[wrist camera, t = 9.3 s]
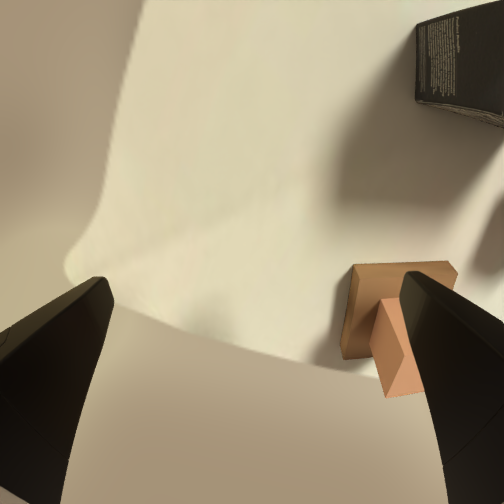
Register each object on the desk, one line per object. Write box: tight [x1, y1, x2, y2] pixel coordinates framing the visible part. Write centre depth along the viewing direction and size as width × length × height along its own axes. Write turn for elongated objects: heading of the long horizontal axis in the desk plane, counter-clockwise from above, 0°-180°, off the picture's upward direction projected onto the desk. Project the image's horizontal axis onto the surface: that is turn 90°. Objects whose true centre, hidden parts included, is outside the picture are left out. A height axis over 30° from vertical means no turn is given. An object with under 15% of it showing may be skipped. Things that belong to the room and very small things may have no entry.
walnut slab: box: [340, 261, 458, 360], centre depth 24 cm, size 9×9×2 cm
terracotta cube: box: [369, 298, 424, 398], centre depth 21 cm, size 5×5×6 cm
